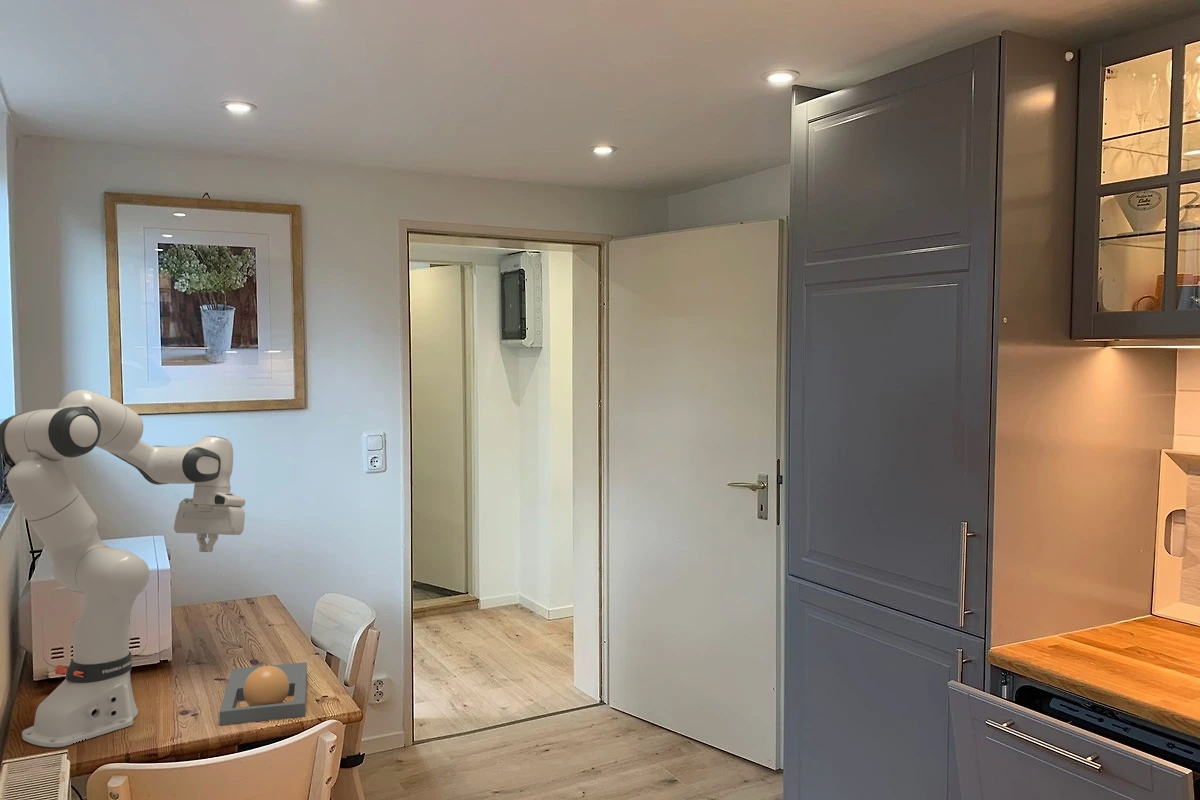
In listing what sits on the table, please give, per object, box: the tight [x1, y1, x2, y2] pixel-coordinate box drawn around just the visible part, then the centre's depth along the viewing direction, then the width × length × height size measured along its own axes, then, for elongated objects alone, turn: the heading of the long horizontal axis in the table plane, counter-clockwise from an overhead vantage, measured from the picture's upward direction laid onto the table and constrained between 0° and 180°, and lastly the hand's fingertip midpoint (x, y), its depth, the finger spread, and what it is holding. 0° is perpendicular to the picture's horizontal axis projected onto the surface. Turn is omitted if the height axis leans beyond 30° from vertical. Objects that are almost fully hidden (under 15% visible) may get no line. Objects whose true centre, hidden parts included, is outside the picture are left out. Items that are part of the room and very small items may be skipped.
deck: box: [218, 661, 308, 726], centre depth 211 cm, size 29×18×3 cm, turn 18°
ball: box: [243, 665, 289, 706], centre depth 204 cm, size 10×10×10 cm
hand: (205, 551), depth 228 cm, fingers closed
